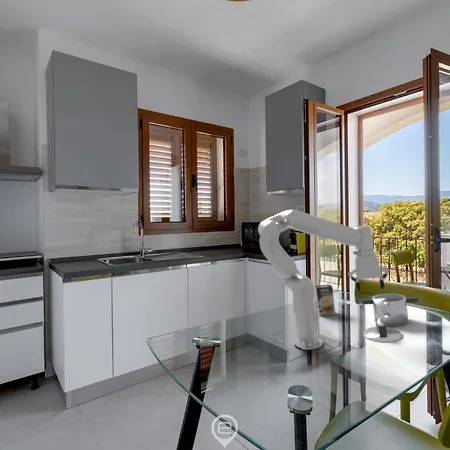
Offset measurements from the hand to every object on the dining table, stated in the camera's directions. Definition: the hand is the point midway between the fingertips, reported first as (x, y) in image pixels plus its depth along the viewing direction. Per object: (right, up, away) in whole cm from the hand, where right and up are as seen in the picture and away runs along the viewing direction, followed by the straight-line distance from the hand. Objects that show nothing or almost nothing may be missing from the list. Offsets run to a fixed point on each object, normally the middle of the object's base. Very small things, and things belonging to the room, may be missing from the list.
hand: (370, 289), depth 149 cm
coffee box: (-9, -21, +36) cm, 43 cm away
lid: (+4, -21, -2) cm, 21 cm away
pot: (+16, -18, +12) cm, 27 cm away
